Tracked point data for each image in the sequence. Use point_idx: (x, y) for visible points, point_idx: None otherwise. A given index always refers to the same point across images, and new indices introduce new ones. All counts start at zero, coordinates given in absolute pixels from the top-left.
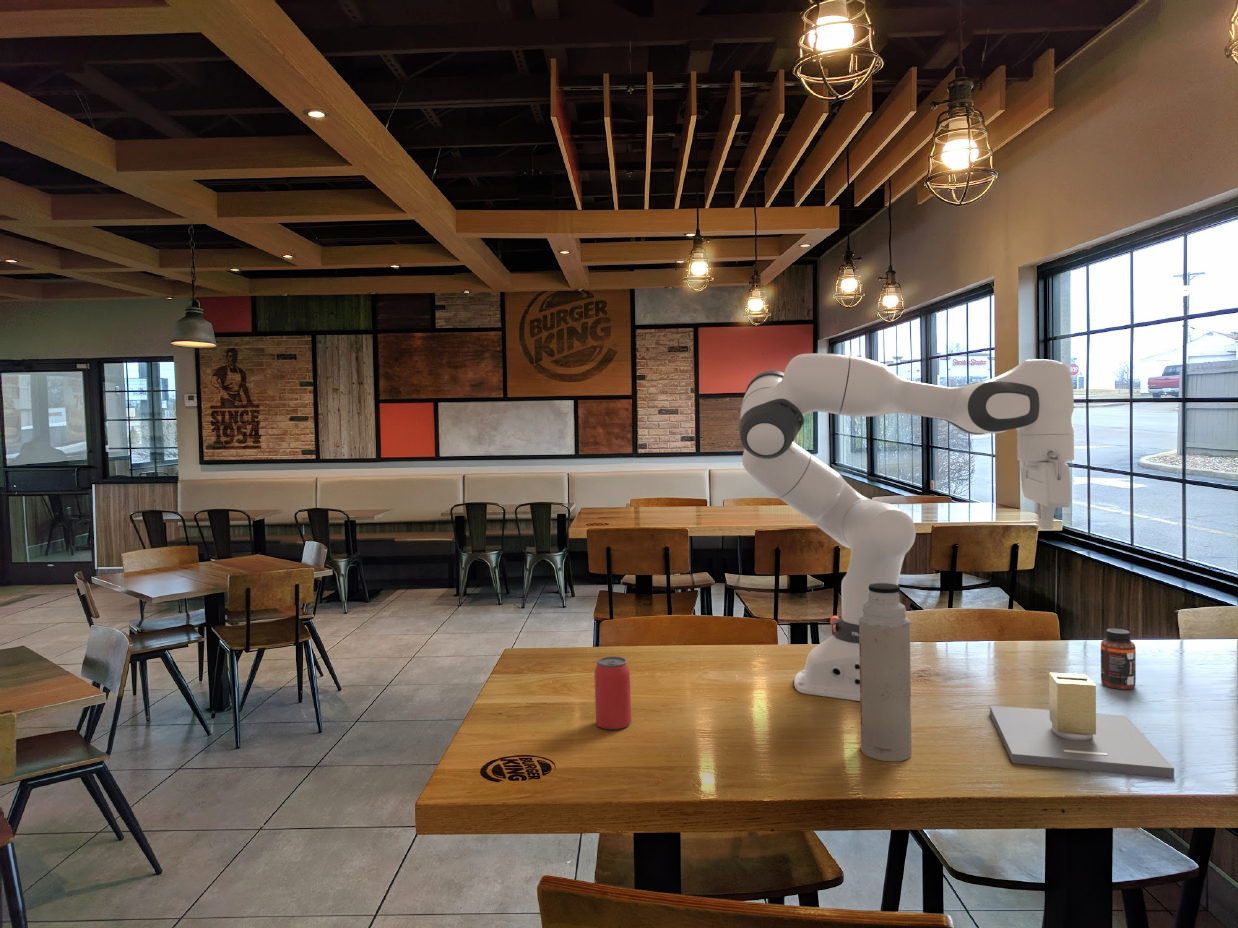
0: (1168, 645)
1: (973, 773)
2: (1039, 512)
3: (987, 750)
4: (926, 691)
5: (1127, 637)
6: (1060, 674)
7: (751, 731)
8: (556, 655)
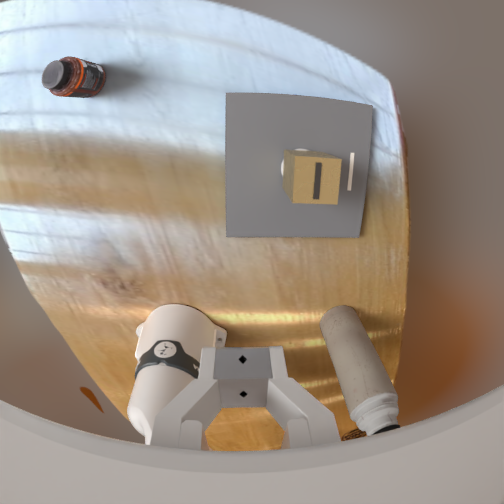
0: None
1: (375, 265)
2: (207, 425)
3: (330, 249)
4: (172, 286)
5: (65, 63)
6: (299, 190)
7: (306, 389)
8: None
